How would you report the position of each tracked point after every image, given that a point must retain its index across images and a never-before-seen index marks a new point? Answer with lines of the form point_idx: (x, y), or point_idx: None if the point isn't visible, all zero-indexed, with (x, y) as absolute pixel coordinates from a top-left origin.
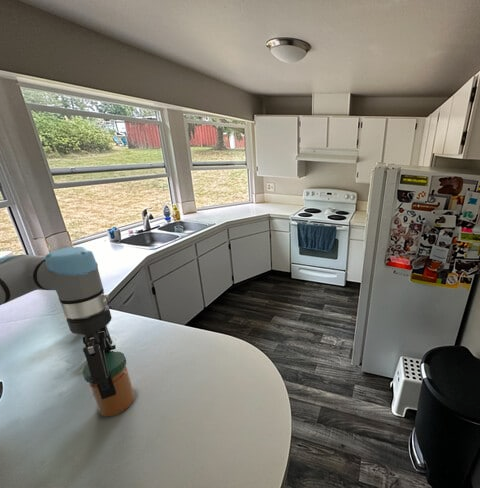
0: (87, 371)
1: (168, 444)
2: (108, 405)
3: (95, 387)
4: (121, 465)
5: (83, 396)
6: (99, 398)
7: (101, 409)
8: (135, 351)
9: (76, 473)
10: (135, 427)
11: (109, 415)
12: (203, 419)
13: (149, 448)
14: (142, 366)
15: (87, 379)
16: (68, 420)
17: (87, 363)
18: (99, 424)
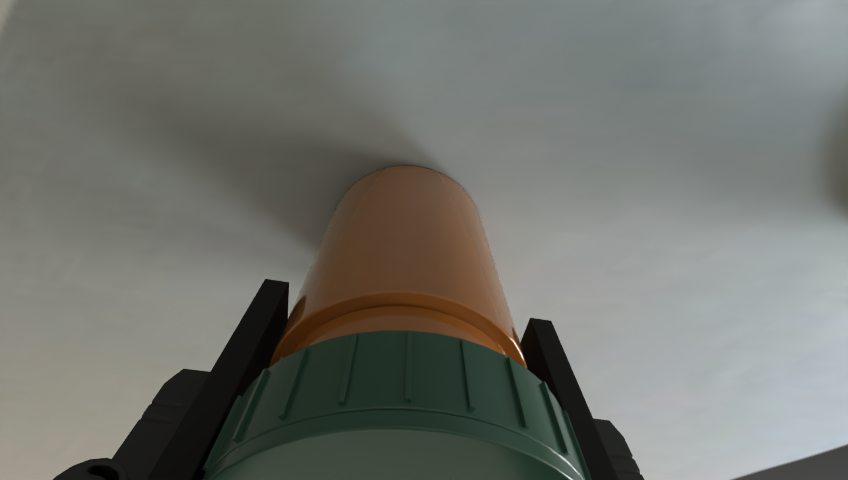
0: (352, 462)
1: (40, 342)
2: (320, 244)
3: (304, 322)
4: (12, 204)
5: (613, 104)
6: (326, 252)
7: (356, 197)
8: (738, 346)
9: (51, 40)
10: (195, 272)
11: (340, 201)
12: (100, 435)
13: (52, 293)
14: (582, 350)
15: (280, 390)
16: (471, 20)
17: (551, 468)
18: (317, 155)
